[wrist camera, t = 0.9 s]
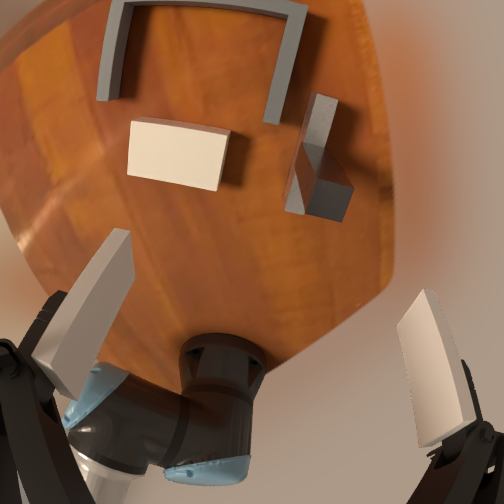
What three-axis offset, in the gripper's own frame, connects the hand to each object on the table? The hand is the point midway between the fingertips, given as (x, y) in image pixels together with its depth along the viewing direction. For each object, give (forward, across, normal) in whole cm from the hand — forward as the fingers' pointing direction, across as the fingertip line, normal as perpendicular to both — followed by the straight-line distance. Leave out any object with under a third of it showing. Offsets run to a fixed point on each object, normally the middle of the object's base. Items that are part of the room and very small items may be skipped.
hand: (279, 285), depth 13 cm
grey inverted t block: (+22, -2, 0) cm, 22 cm away
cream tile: (+21, +11, +3) cm, 24 cm away
